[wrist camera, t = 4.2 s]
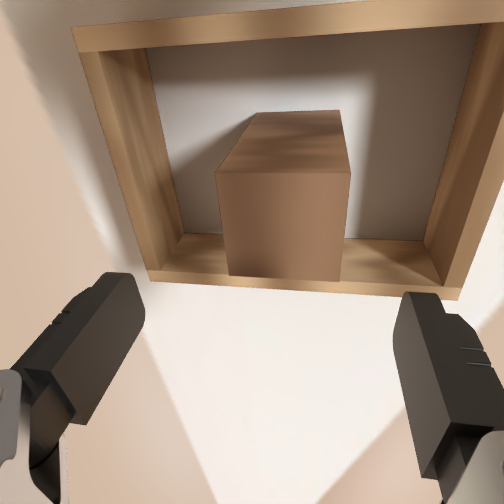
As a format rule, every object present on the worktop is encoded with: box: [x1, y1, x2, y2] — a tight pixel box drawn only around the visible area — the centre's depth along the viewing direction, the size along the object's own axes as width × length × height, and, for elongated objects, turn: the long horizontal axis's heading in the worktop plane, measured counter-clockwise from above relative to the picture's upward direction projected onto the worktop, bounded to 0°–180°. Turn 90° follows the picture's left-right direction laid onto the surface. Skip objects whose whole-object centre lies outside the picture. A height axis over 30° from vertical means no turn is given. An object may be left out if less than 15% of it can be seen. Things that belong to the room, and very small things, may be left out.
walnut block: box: [215, 110, 351, 282], centre depth 18 cm, size 5×5×10 cm
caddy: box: [71, 0, 504, 301], centre depth 20 cm, size 20×15×5 cm
